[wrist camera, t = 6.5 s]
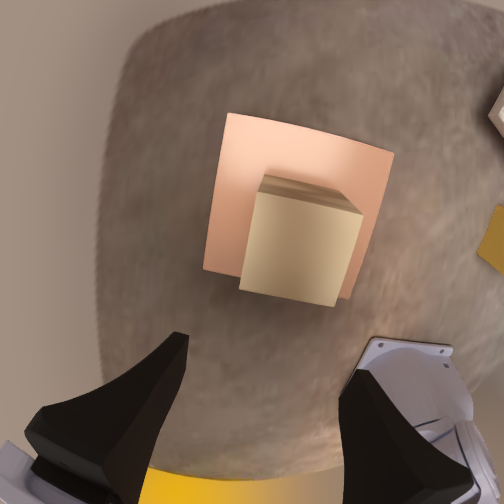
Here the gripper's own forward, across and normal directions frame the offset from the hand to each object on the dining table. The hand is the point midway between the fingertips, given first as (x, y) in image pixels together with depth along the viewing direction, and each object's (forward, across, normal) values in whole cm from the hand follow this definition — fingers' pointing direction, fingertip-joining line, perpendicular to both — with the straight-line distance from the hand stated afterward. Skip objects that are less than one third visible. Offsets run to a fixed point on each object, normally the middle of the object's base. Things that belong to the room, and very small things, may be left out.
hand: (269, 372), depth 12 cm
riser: (+10, 0, -5) cm, 11 cm away
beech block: (+8, 0, -4) cm, 9 cm away
